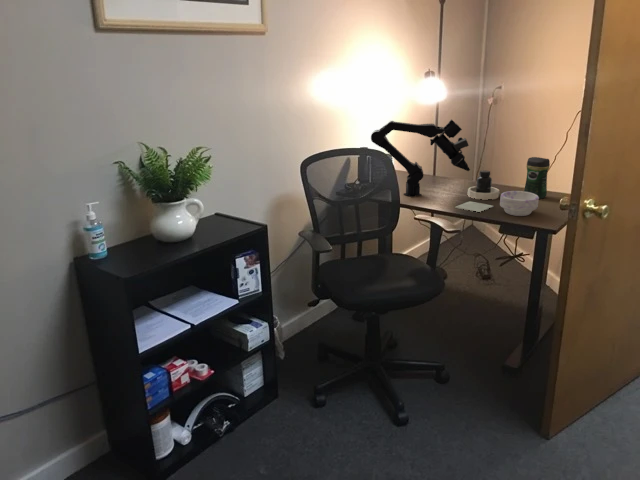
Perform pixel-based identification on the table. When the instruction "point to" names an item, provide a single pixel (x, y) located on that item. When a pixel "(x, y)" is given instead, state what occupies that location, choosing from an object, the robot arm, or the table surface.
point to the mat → (474, 206)
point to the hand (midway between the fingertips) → (468, 168)
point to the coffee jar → (537, 176)
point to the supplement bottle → (484, 182)
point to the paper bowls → (519, 202)
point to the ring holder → (483, 194)
